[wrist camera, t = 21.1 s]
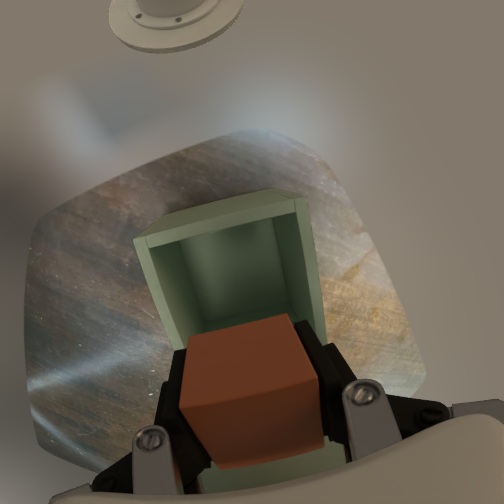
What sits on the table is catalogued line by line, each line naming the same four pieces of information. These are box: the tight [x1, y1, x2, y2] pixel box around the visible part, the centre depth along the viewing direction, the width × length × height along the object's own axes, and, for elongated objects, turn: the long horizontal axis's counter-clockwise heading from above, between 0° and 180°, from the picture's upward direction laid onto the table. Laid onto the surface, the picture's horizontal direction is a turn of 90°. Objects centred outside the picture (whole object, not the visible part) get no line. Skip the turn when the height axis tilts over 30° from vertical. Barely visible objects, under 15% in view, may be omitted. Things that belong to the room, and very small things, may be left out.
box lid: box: [200, 436, 345, 494], centre depth 14 cm, size 15×12×6 cm
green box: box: [133, 188, 328, 351], centre depth 25 cm, size 14×12×12 cm
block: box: [179, 313, 325, 470], centre depth 9 cm, size 4×4×4 cm
